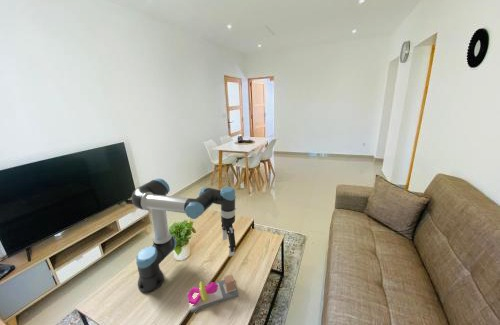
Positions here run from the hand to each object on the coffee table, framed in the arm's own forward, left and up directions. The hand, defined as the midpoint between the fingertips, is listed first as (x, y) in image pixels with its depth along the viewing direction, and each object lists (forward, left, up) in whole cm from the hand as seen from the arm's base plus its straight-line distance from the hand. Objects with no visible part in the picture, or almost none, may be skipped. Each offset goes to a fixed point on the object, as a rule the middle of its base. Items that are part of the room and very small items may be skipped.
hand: (228, 246), depth 121 cm
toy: (-16, -1, -31) cm, 35 cm away
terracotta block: (0, 0, -31) cm, 31 cm away
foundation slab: (-10, 0, -32) cm, 34 cm away
